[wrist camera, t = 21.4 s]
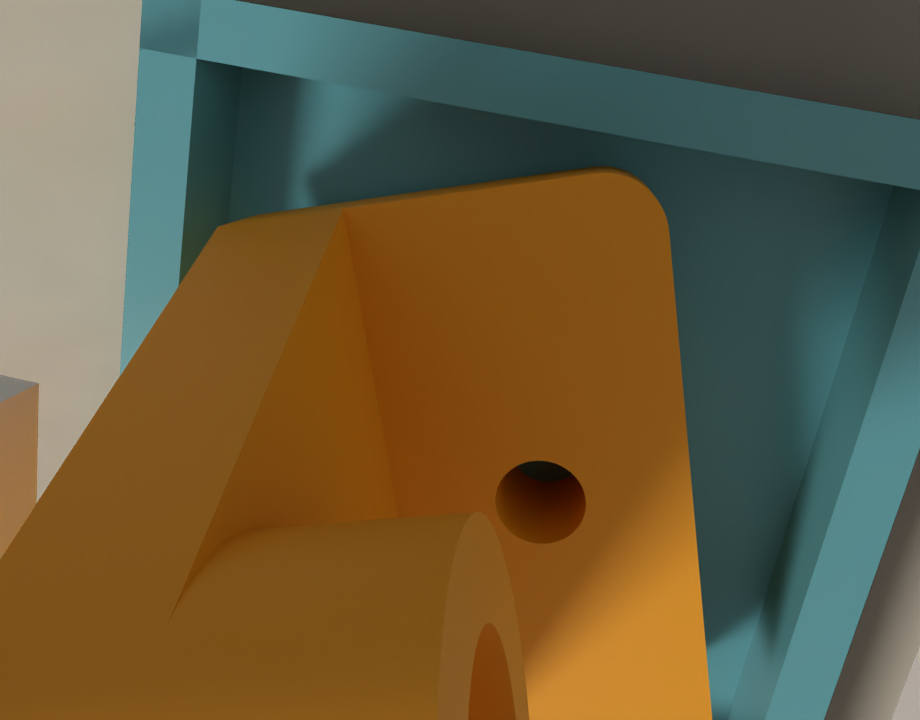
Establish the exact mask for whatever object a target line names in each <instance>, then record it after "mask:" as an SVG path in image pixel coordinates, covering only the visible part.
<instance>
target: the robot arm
mask: <svg viewBox="0 0 920 720" xmlns="http://www.w3.org/2000/svg"><path fill="white" fill-rule="evenodd" d="M38 394H39V383H35V382H30V381H26V380H21V379H17V378H12V377H8V376H3V375H0V559H1V557H2V556H3V554H4V553H5V551H6V550H7V548H8V547H9V545H10V544H11V542H12V541H13V539H14V537H15V536H16V534H17V533H18V531H19V530H20V528H21V527H22V525H23V524H24V522H25V521H26V519H27V518H28V516H29V515H30V513H31V511H32V510H33V508H34V507H35V505H36V495H37V445H38ZM891 720H920V647H919V649H918V652H917V655H916V657H915V660H914V662H913V665H912V667H911V670H910V673H909V675H908V678H907V680H906V683H905V686H904V688H903V691H902V693H901V696H900V699H899V701H898V704H897V706H896V709H895V711H894V714H893V717H892V719H891Z"/></svg>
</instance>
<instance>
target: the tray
mask: <svg viewBox="0 0 920 720" xmlns="http://www.w3.org/2000/svg"><path fill="white" fill-rule="evenodd" d="M593 166H611V167H616V168H620V169H623V170H626V171H628V172H630V173H632V174H633V175H635V176H636V177H638V178H639V179H640V180H641V181H642V182H644V183H645V184H646V186H647V187H648V188H649V189H650V191H651V192H652V193H653V195H654V196H655V197H656V198H657V200H658V201H659V203H660V204H661V206H662V208H663V210H664V212H665V215H666V218H667V222H668V226H669V234H670V245H671V257H672V268H673V279H674V291H675V302H676V313H677V325H678V336H679V347H680V359H681V370H682V381H683V393H684V404H685V415H686V427H687V438H688V449H689V461H690V472H691V483H692V495H693V506H694V517H695V529H696V540H697V551H698V563H699V574H700V585H701V597H702V608H703V619H704V631H705V642H706V653H707V665H708V676H709V687H710V699H711V710H712V720H824V718H825V715H826V712H827V710H828V707H829V704H830V701H831V698H832V695H833V693H834V690H835V687H836V684H837V681H838V678H839V676H840V673H841V670H842V667H843V664H844V661H845V659H846V656H847V653H848V650H849V647H850V644H851V642H852V639H853V636H854V633H855V630H856V627H857V625H858V622H859V619H860V616H861V613H862V610H863V608H864V605H865V602H866V599H867V596H868V594H869V591H870V588H871V585H872V582H873V579H874V577H875V574H876V571H877V568H878V565H879V562H880V560H881V557H882V554H883V551H884V548H885V545H886V543H887V540H888V537H889V534H890V531H891V528H892V526H893V523H894V520H895V517H896V514H897V511H898V509H899V506H900V503H901V500H902V497H903V494H904V492H905V489H906V486H907V483H908V480H909V477H910V475H911V472H912V469H913V466H914V463H915V460H916V458H917V455H918V452H919V449H920V120H918V119H912V118H906V117H900V116H895V115H889V114H883V113H878V112H872V111H866V110H860V109H855V108H849V107H843V106H837V105H832V104H826V103H820V102H815V101H809V100H803V99H797V98H792V97H786V96H780V95H774V94H769V93H763V92H757V91H752V90H746V89H740V88H734V87H729V86H723V85H717V84H711V83H706V82H700V81H694V80H689V79H683V78H677V77H671V76H666V75H660V74H654V73H648V72H643V71H637V70H631V69H626V68H620V67H614V66H608V65H603V64H597V63H591V62H585V61H580V60H574V59H568V58H563V57H557V56H551V55H545V54H540V53H534V52H528V51H522V50H517V49H511V48H505V47H500V46H494V45H488V44H482V43H477V42H471V41H465V40H459V39H454V38H448V37H442V36H437V35H431V34H425V33H419V32H414V31H408V30H402V29H396V28H391V27H385V26H379V25H374V24H368V23H362V22H356V21H351V20H345V19H339V18H333V17H328V16H322V15H316V14H310V13H305V12H299V11H293V10H288V9H282V8H276V7H270V6H265V5H259V4H253V3H247V2H242V1H236V0H142V17H141V33H140V50H139V66H138V83H137V100H136V116H135V133H134V149H133V166H132V182H131V199H130V215H129V232H128V249H127V265H126V282H125V298H124V315H123V331H122V348H121V365H120V375H121V374H122V372H123V371H124V369H125V368H126V366H127V365H128V363H129V362H130V360H131V359H132V357H133V355H134V354H135V352H136V351H137V349H138V348H139V346H140V345H141V343H142V342H143V340H144V339H145V337H146V336H147V334H148V333H149V331H150V329H151V328H152V326H153V325H154V323H155V322H156V320H157V319H158V317H159V316H160V314H161V313H162V311H163V310H164V308H165V307H166V305H167V303H168V302H169V300H170V299H171V297H172V296H173V294H174V293H175V291H176V290H177V288H178V287H179V285H180V284H181V282H182V281H183V279H184V277H185V276H186V274H187V273H188V271H189V270H190V268H191V267H192V265H193V264H194V262H195V261H196V259H197V258H198V256H199V255H200V253H201V251H202V250H203V248H204V247H205V245H206V244H207V242H208V241H209V239H210V238H211V236H212V235H213V233H214V232H215V230H216V229H217V227H218V226H221V225H225V224H228V223H231V222H235V221H238V220H241V219H245V218H248V217H251V216H255V215H258V214H264V213H271V212H278V211H285V210H292V209H299V208H306V207H313V206H320V205H327V204H334V203H341V202H348V201H355V200H362V199H369V198H376V197H383V196H390V195H397V194H404V193H411V192H418V191H425V190H432V189H439V188H446V187H453V186H460V185H467V184H474V183H481V182H488V181H495V180H502V179H509V178H516V177H523V176H530V175H537V174H544V173H551V172H558V171H565V170H572V169H579V168H586V167H593ZM517 467H518V468H519V469H520V470H521V471H522V472H523V473H524V474H525V475H527V476H529V477H531V478H533V479H535V480H539V481H543V482H555V481H560V480H563V479H565V478H568V477H569V476H571V475H572V473H571V472H570V471H568V470H567V469H566V468H564V467H562V466H560V465H558V464H555V463H552V462H548V461H529V462H525V463H522V464H520V465H518V466H517Z"/></svg>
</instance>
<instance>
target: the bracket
mask: <svg viewBox="0 0 920 720" xmlns="http://www.w3.org/2000/svg"><path fill="white" fill-rule="evenodd" d="M529 461H548V462H552V463H555V464H558V465H560V466H562V467H564V468H566V469H567V470H568V471H570V472H571V473H572V475H571V476H569V477H568V478H565V479H563V480H560V481H555V482H543V481H539V480H535V479H533V478H531V477H529V476H527V475H525V474H524V473H523V472H522V471H521V470H520V469H519V468H518V467H517V466H518V465H520V464H522V463H525V462H529ZM0 720H712V710H711V699H710V687H709V676H708V665H707V653H706V642H705V631H704V619H703V608H702V597H701V585H700V574H699V563H698V551H697V540H696V529H695V517H694V506H693V495H692V483H691V472H690V461H689V449H688V438H687V427H686V415H685V404H684V393H683V381H682V370H681V359H680V347H679V336H678V325H677V313H676V302H675V291H674V279H673V268H672V257H671V245H670V234H669V226H668V222H667V218H666V215H665V212H664V210H663V208H662V206H661V204H660V203H659V201H658V200H657V198H656V197H655V196H654V195H653V193H652V192H651V191H650V189H649V188H648V187H647V186H646V184H645V183H644V182H642V181H641V180H640V179H639V178H638V177H636V176H635V175H633V174H632V173H630V172H628V171H626V170H623V169H620V168H616V167H611V166H593V167H586V168H579V169H572V170H565V171H558V172H551V173H544V174H537V175H530V176H523V177H516V178H509V179H502V180H495V181H488V182H481V183H474V184H467V185H460V186H453V187H446V188H439V189H432V190H425V191H418V192H411V193H404V194H397V195H390V196H383V197H376V198H369V199H362V200H355V201H348V202H341V203H334V204H327V205H320V206H313V207H306V208H299V209H292V210H285V211H278V212H271V213H264V214H258V215H255V216H251V217H248V218H245V219H241V220H238V221H235V222H231V223H228V224H225V225H221V226H218V227H217V229H216V230H215V232H214V233H213V235H212V236H211V238H210V239H209V241H208V242H207V244H206V245H205V247H204V248H203V250H202V251H201V253H200V255H199V256H198V258H197V259H196V261H195V262H194V264H193V265H192V267H191V268H190V270H189V271H188V273H187V274H186V276H185V277H184V279H183V281H182V282H181V284H180V285H179V287H178V288H177V290H176V291H175V293H174V294H173V296H172V297H171V299H170V300H169V302H168V303H167V305H166V307H165V308H164V310H163V311H162V313H161V314H160V316H159V317H158V319H157V320H156V322H155V323H154V325H153V326H152V328H151V329H150V331H149V333H148V334H147V336H146V337H145V339H144V340H143V342H142V343H141V345H140V346H139V348H138V349H137V351H136V352H135V354H134V355H133V357H132V359H131V360H130V362H129V363H128V365H127V366H126V368H125V369H124V371H123V372H122V374H121V375H120V377H119V378H118V380H117V381H116V383H115V385H114V386H113V388H112V389H111V391H110V392H109V394H108V395H107V397H106V398H105V400H104V401H103V403H102V404H101V406H100V407H99V409H98V411H97V412H96V414H95V415H94V417H93V418H92V420H91V421H90V423H89V424H88V426H87V427H86V429H85V430H84V432H83V433H82V435H81V437H80V438H79V440H78V441H77V443H76V444H75V446H74V447H73V449H72V450H71V452H70V453H69V455H68V456H67V458H66V459H65V461H64V463H63V464H62V466H61V467H60V469H59V470H58V472H57V473H56V475H55V476H54V478H53V479H52V481H51V482H50V484H49V485H48V487H47V489H46V490H45V492H44V493H43V495H42V496H41V498H40V499H39V501H38V502H37V504H36V505H35V507H34V508H33V510H32V511H31V513H30V515H29V516H28V518H27V519H26V521H25V522H24V524H23V525H22V527H21V528H20V530H19V531H18V533H17V534H16V536H15V537H14V539H13V541H12V542H11V544H10V545H9V547H8V548H7V550H6V551H5V553H4V554H3V556H2V557H1V559H0Z"/></svg>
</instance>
